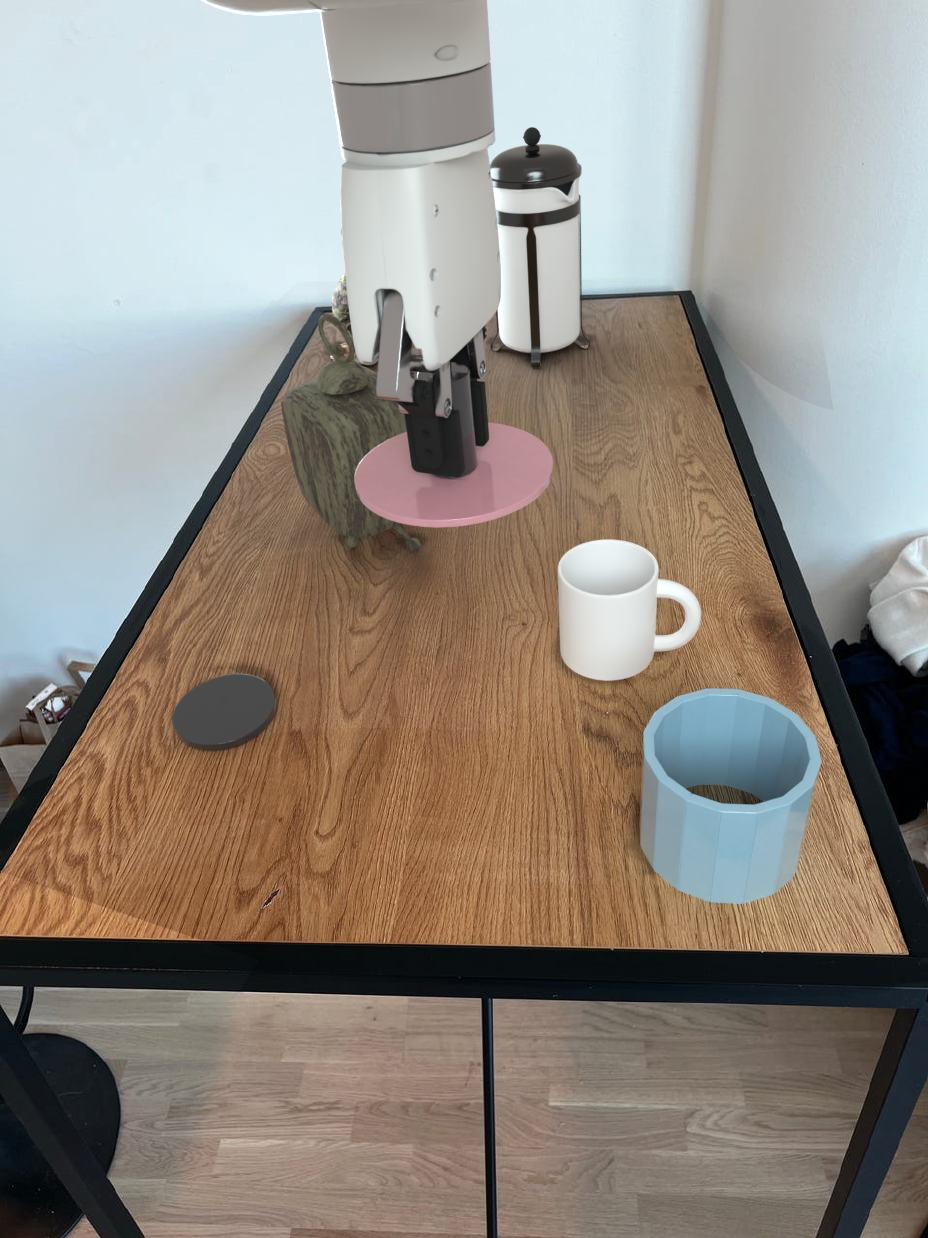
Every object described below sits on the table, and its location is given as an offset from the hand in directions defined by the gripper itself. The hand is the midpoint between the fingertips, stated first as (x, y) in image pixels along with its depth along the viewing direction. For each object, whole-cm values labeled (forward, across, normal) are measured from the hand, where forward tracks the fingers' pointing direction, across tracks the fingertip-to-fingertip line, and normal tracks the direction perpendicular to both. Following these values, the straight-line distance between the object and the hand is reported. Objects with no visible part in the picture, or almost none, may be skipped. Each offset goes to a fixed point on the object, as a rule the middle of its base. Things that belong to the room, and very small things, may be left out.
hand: (451, 454), depth 56 cm
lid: (+1, 0, 0) cm, 1 cm away
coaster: (+29, 0, -25) cm, 38 cm away
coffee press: (+29, -83, -26) cm, 91 cm away
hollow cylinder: (+29, 0, +18) cm, 34 cm away
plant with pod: (+29, -74, -51) cm, 95 cm away
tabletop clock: (+29, -29, -26) cm, 48 cm away
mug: (+29, -17, +7) cm, 35 cm away
